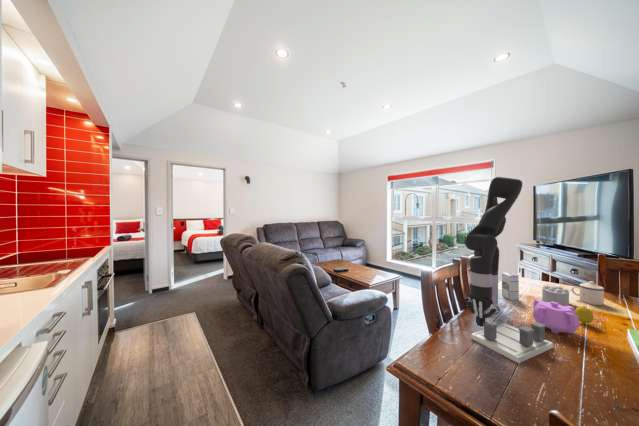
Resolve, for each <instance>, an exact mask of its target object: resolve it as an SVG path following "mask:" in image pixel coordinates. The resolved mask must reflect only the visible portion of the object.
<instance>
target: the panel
mask: <svg viewBox="0 0 639 426" xmlns="http://www.w3.org/2000/svg"><path fill="white" fill-rule="evenodd" d="M470 338H472V339H471V340H473V341H475V342H477V343H479V344H481V345H483V346H484V345H485V346H484V347H486V348H488V349H491V350H492V351H493V352H496V353H497V354H500V355H502V356H503V355H504V357H506V358H507V359H509V360H511V361H513V362H515V363H517V364H521V363H522V362H525V361H527V360H530V359H531V358H533V357H536V356H538V355H541V354H542V353H546V352H547V351H549V350H552V349H553V348H554V343H553V341H549V340H547V339H545V340H543V341H541V342H538V341H536V340H534V339H533V345H531V346H529V347H526V346H524V345H522V344H520V330H519V327H518V328H517V327H516V326H513V325H510V324H507V323H505V322H503V323H501V324H497V339H494V340H491V341H490V340H488V339H486V338H484V329H482V330H479V331H475V332H473V333H471V337H470Z"/></svg>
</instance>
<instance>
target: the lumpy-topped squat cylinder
mask: <svg viewBox="0 0 639 426" xmlns="http://www.w3.org/2000/svg"><path fill="white" fill-rule="evenodd" d="M541 290H542V295H541V296H542V297H541V301H542V302H557V303H559V305H562V306H570V291H569V290H568V289H567V288H564V287H562V286H558V285H551V284H548V285H543V286H542V289H541Z"/></svg>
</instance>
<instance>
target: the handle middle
mask: <svg viewBox="0 0 639 426" xmlns="http://www.w3.org/2000/svg"><path fill="white" fill-rule="evenodd" d="M518 329H519V330H520V344H522V345H524V346H526V347H529V346H531V345H533V332H534V329H532V327H529V326H526V325H523V326H521V327H518Z"/></svg>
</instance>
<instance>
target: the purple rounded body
mask: <svg viewBox="0 0 639 426" xmlns="http://www.w3.org/2000/svg"><path fill="white" fill-rule="evenodd" d="M532 309H533V312H532V317H533V319H534V322H539V323H541V324H544V325H546V327H545V328H547V329H549V330H550V332H551V333H553V334H555V335H559V333H566V334H570V335H571V334H572V335H573V333H575V332H576V331H577V330H578V329H579V328H581V325H580V321H579V319H578V316H577V315H575V310H576V309H575V307H574V306H571V305H569V306H562V305H559V303H557V302H544V301H542V300H540V299H534V301H533V306H532Z"/></svg>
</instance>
